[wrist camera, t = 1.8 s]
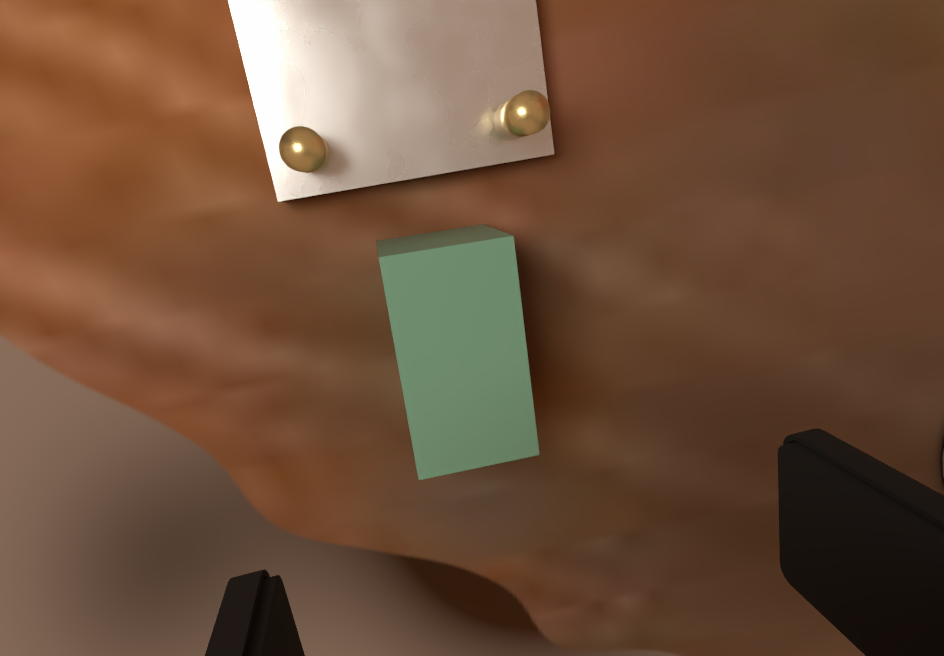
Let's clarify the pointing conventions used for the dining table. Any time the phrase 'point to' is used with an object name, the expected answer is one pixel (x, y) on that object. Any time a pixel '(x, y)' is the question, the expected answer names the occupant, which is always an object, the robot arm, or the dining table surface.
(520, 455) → the block
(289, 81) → the chassis plate
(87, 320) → the dining table surface
